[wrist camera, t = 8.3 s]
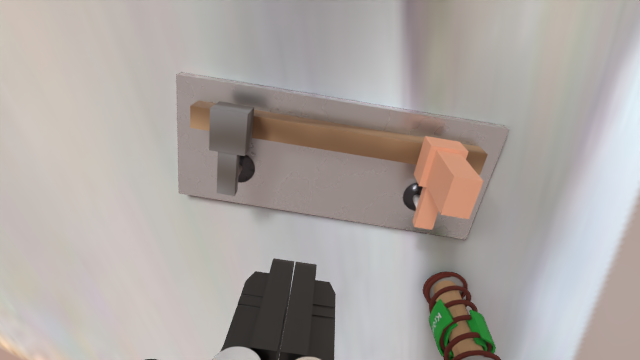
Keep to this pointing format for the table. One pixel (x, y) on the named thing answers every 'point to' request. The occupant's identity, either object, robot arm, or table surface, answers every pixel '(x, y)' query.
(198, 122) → the beam
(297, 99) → the hole plate
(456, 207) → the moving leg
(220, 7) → the table surface
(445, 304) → the shock absorber
